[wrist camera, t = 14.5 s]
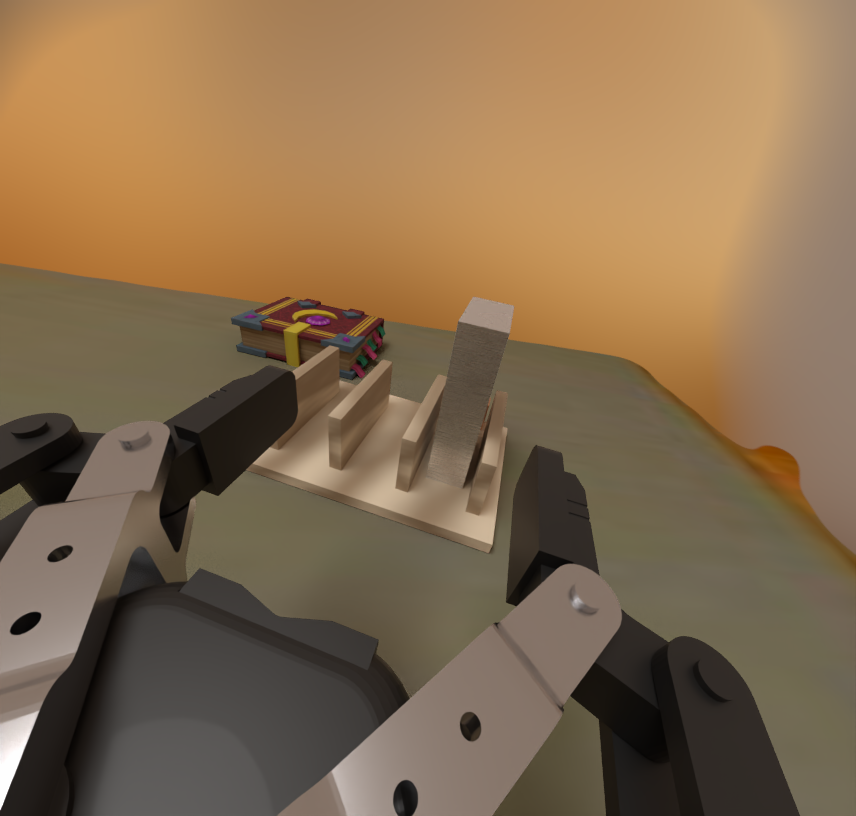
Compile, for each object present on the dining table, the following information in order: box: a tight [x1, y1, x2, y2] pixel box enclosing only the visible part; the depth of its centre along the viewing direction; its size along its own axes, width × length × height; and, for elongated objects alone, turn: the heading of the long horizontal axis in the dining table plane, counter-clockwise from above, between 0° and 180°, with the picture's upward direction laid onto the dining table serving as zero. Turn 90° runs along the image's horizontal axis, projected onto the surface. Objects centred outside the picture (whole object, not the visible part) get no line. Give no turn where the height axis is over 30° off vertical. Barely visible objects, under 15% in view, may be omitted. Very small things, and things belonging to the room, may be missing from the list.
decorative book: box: [231, 297, 385, 380], centre depth 43 cm, size 11×16×5 cm
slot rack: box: [246, 346, 508, 553], centre depth 28 cm, size 20×14×6 cm
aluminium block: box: [426, 297, 514, 489], centre depth 25 cm, size 3×6×13 cm, turn 165°
